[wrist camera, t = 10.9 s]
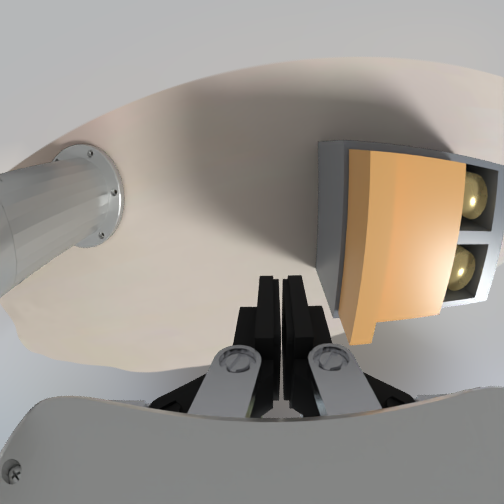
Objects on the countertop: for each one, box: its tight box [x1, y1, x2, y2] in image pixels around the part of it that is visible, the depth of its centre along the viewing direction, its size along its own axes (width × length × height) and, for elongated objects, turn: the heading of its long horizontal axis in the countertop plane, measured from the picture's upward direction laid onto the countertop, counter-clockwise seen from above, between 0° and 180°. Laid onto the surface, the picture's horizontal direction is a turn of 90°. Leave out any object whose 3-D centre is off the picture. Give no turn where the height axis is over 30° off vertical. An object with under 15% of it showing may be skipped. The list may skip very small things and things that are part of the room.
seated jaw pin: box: [447, 244, 475, 291], centre depth 24 cm, size 4×4×9 cm
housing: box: [316, 140, 504, 318], centre depth 23 cm, size 18×14×10 cm
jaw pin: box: [462, 171, 487, 219], centre depth 22 cm, size 4×4×9 cm
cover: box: [338, 149, 466, 345], centre depth 17 cm, size 9×12×4 cm
